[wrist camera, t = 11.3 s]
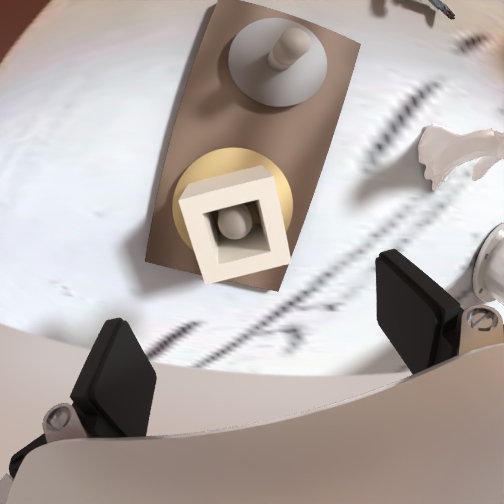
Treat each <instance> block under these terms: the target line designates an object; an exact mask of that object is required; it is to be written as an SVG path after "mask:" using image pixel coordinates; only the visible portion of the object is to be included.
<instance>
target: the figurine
mask: <svg viewBox="0 0 504 504" xmlns="http://www.w3.org/2000/svg"><path fill="white" fill-rule="evenodd" d="M418 144H419V145H418V153H419V156H418V161H419V162H420V163H422V164H425V165H426V169H425V172H424V177H425V179H426V180H429V179H431V180H432V182H433V183H432V190H433V191H435V190H436V189H437V188H438V186H439V185H440V184H441V183H442V182H443V181H444V182H445V181H446V180H447V178H448V176H449V175H450V174H451V172H453V170H454V169H456V167H457V166H459V165H461V164H462V163H465V162H468V161H471V160H473V159H475V158H478V157H480V158H479V159H478V160H477V161H476V162H475V164H474V168H473V175H472V180H473V181H476V180H478V179H480V178H482V177H483V176H484V175H485V174H486V173H487V172H488V170H489V169H490V168H491V167H492V166H493V165H494V164H495V163H496V162H498V161H500V160H501V159H504V133H500V132H498V131H497V130H496V131H495V130H493V129H492V128H491V129H490V130H480V131H476V132H472V133H470V134H467V135H462V134H460V133H458V132H456V131H454V130H452V129H450V128H449V127H446V126H441V125H437V124H431V125H430V126H428V128H427V129H426V130H425V132H424V133H423V135H422V137H421V139H420V141H419V143H418Z"/></svg>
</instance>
